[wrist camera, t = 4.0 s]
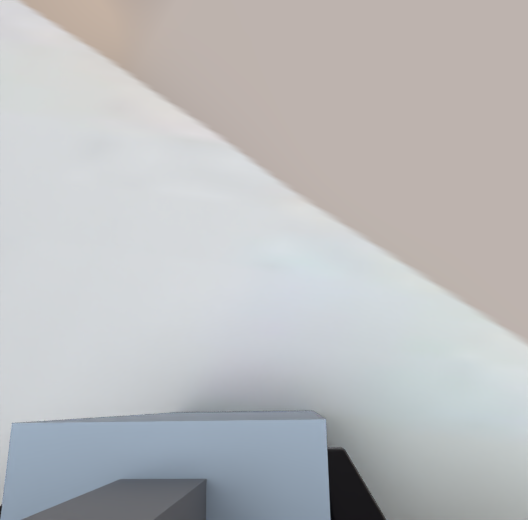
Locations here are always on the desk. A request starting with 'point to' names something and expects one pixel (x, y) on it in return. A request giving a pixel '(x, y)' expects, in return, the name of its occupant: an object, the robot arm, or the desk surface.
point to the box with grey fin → (170, 467)
